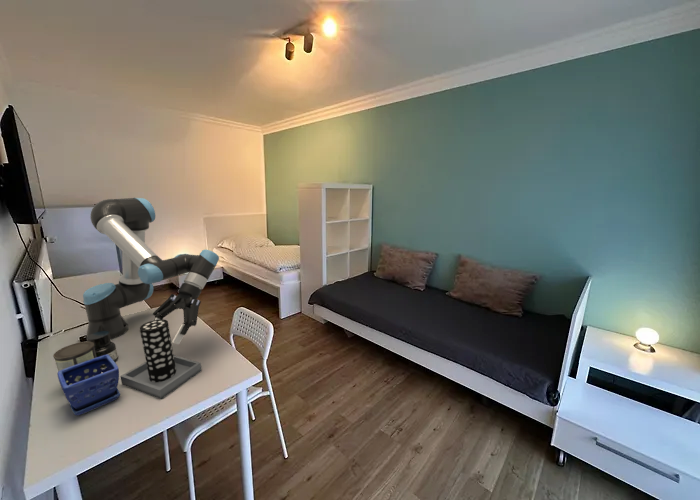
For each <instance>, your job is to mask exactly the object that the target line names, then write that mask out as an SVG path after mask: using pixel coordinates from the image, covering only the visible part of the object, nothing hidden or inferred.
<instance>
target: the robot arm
mask: <svg viewBox="0 0 700 500" xmlns="http://www.w3.org/2000/svg"><path fill="white" fill-rule="evenodd" d="M89 218H90V223H91V224H92V226H93V227H94V229H95V230H97V232H99V233H100V234H102V235H106V236H107V238H108V239H109V240H111V241H112V242H113V244H114V245H116V246H117V248H119V249H120V250H121V251H122V252H121V253H122V255H121V257H122V275H120V276H119V277H118V283H116V284H114V282H105V283H100V284H96V285H94V286H91V287H89V288H87V289H86V290H85V291H84V292H83V294H82V298H83V304H84V308H85V312H86V316H87V321H88V324H87V330H86V335H85V336H86V338H87V337H88V336H89V335H91V334H93V333H96V332H100V331H108V332H109V333H110V338H111V340H112V339H115V338H117V337H120V336H121V335H124V334H125V333H126V332H127V331H128V330H129V326H128V322H127V321H126V320H125V318H124V317H123V315H122V314H121V310H120V309H122V308H125V307H128V306H131V305H133V304H137V303H140V302H143V301H145V300H148V299H149V298H151V296H152V295H153V293H154V284H155V283H160V282H163V281H165V280H168V279H172V278H175V277H178V276H182V275H185V274H187V275H186V277H185V278H184V280H183V282H182V283H181V285H180V286H179V289H178V290H177V292H178V294H177V295H176V294H174V293H171V294H170V295H169V296H168V298H167V299H166V300H164V302H163V303H162V304H160V306H158V308H157V309H156V310H154V311H153V312H152V315H153V316H154V319H153V320H152V321H154V320H160V319H164V318H165V317H167V316H168V315H170V314H171V313H172V312H174V311H175V310H178V309H179V310H182V311H183V323H181V325H180V327H179V328H178V330H177V332H175V333H176V334H175V336H173V339H172V340H171V343H172V344H175V345H180V343H181V341H182V340H183V338H184V336H186V334H187V333H188V331H189V329H190V327H193V326H194V327H196V326H197V322H198V315H199V308H200V305H201V303H202V301H201V300H199V297H200V295H201V293H202V290H203V289H204V288H205V286H206V284H207V282H208V281H209V279H210V276H211V275H212V273H213V271H214V270H215V268H216V267H217V264H218V263H219V260H220V256H219V254H217V253H216V252H214V251H212V250H209V249H203V250H201V252H199V254H189V253H180V254H177V255H175V256H174V257H171V258H166V259H162V258H160V256H158V254H157V253H155V252H154V251H153V250H152V249H151V248H150V247H149V246H148V245H147V244H146V231H147V230H149V228H150V223H152V222H154V221H156V220H155V219H156V210H155V208H154V207H153V205H152V203H151V202H150V201H149V200H148V199H146V198H144V197H129V198H108V199H103V200H101V201H98V202H97V203H96V204H95V205H94V206H93V208H92V209H91V210H90V217H89Z"/></svg>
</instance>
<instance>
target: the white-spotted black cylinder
mask: <svg viewBox="0 0 700 500" xmlns="http://www.w3.org/2000/svg"><path fill="white" fill-rule="evenodd" d="M153 320H154V319H153ZM153 320H150V321H148V322H145V323H144V324H142V325H140V327H139V332H140V337H141V342H142V348H143V352H144V357H145V358H144V359H145V362H146V364H147V369H148V374H149V379H150V381H151V382H162V381H165V380H167V379H169V378H171V377H172V376H173V375H175V373H176V366H175V360H174V355H175V354H174V349H173V345H172V344H173V342H172V339H171V338H172V337H171V333H170V331H171V330H170V326H169V321H168V320H167V319H164V318H163V319H160V320H154V321H153Z"/></svg>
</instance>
